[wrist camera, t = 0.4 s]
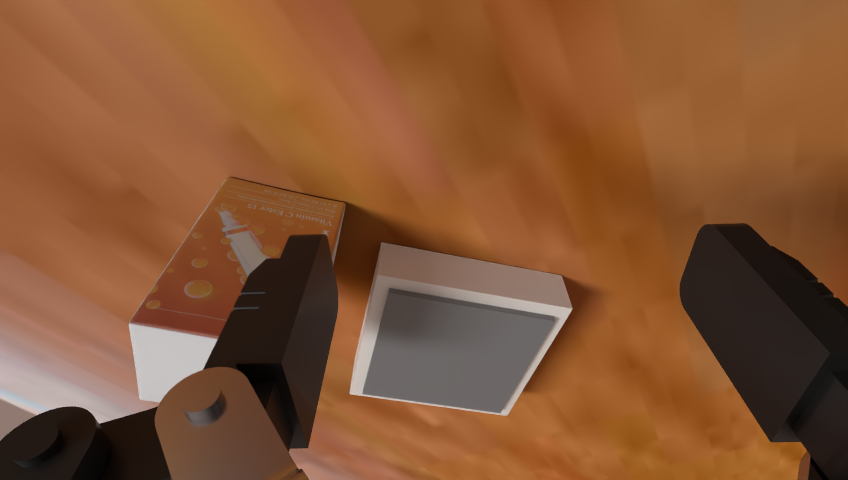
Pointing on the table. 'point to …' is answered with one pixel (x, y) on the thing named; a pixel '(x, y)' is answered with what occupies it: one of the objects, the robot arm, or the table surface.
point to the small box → (217, 276)
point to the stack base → (455, 330)
